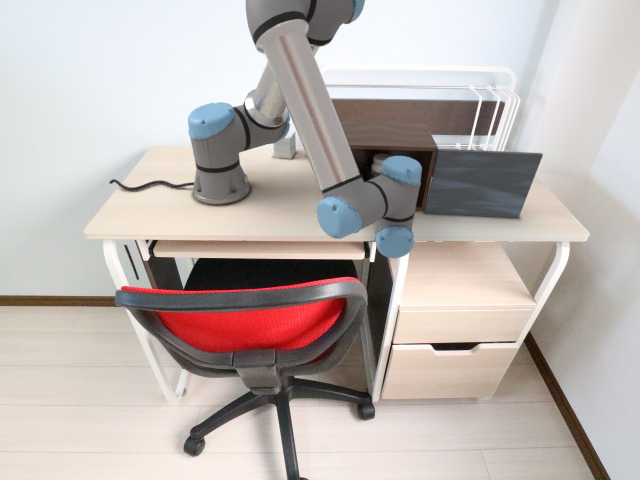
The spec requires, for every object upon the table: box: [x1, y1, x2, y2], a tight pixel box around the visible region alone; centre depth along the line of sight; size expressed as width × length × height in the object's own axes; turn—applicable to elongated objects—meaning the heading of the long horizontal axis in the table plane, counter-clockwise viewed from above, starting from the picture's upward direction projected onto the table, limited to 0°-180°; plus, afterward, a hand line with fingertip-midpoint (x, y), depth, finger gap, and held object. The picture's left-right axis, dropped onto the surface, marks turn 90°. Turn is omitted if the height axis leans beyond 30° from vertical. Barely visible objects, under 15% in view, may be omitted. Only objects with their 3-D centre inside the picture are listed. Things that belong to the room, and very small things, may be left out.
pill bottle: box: [371, 153, 391, 177], centre depth 103 cm, size 6×6×10 cm
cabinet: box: [339, 120, 439, 212], centre depth 104 cm, size 16×24×18 cm, turn 88°
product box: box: [273, 130, 297, 160], centre depth 128 cm, size 6×6×7 cm
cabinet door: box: [424, 148, 544, 219], centre depth 98 cm, size 6×24×18 cm, turn 86°
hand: (379, 162), depth 107 cm, fingers closed on pill bottle, 6 cm apart
